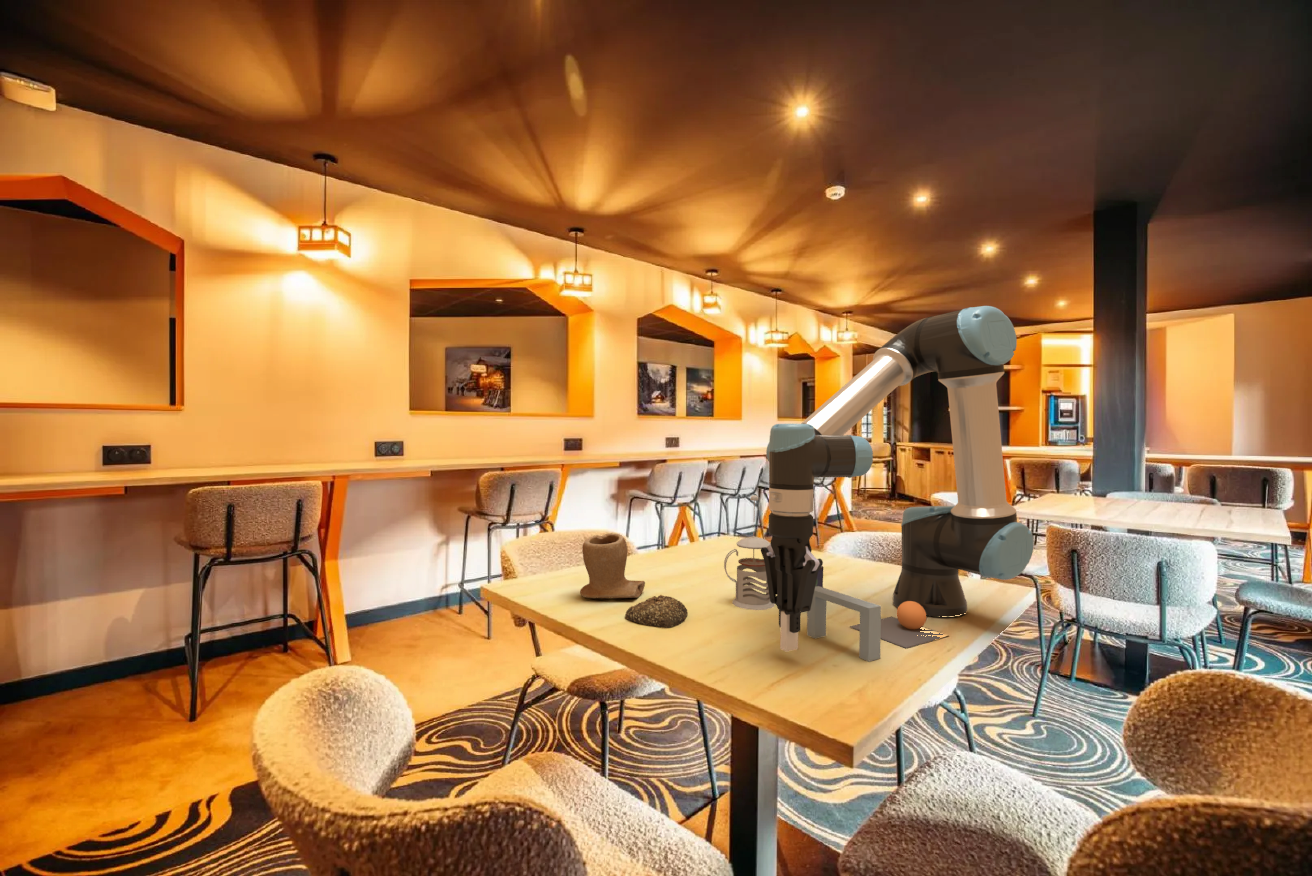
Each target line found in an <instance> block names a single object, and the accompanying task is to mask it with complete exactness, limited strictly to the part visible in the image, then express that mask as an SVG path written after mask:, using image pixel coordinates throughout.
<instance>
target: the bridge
mask: <svg viewBox="0 0 1312 876" xmlns="http://www.w3.org/2000/svg"><path fill="white" fill-rule="evenodd" d="M827 602H829V603H832V604H835V605H837V606H840V607H842V608H843V607H844V608H846V609H849V610H853V611H855V612H859V624H860V631H859V650H858V651H859V654H858V655H859V656H858V658H859V659H862V660H864V661H865V662H872V661H876V660H879V659H881V642H882V641H881V640H882V639H881V619H882V611H881V610H882V605H880V604H877V603H873V602H870V601H867V600H863V599H860V598H858V597H857V598H856V597H854V596H851V595H848V594H845V593H842V592H839V591H835V590H832V589H829V588H825V587H824V586H823V587H820V586H817V587H815V590H814V595H813V599H812V604H811V609H810V611H808V612H806V613H807V614H806V615H807V616H806V617H807V618H806V619H807V623H806V624H807V625H806V626H807V627H806V635H807V636H808V637H809V638H812V639H819V638H824V637H827Z"/></svg>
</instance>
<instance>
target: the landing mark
mask: <svg viewBox="0 0 1312 876" xmlns="http://www.w3.org/2000/svg"><path fill="white" fill-rule="evenodd" d="M849 628H851V629H853V630H855V631H859V632H860V623H859V624H853V625H850V626H849ZM920 631H935V630H934V629H931V630H925V629H924V630H922V629H920V628H919V629H914V630H913V629H908V628H905V627H904V626H903V625H901V624H900V622H899V621H898V618H897V617H894V616H888V617H883V618H881V640H883V641H885V642H888V643H890V644H893V645H895V646H899V647H901V648H902V649H906V648H907V649H909V648H913V647H917V646H919V644H921V645H924V644H927V643H930V641H931V642H934V641H933V640H935V639H939V638H940V637H937V636H933V637H932V635H943V634H944V633H943V634H940V633H941V632H940V633H939V634H933V633H931V632H930V633H924V632H920ZM917 635H918V636H917ZM921 635H922V636H921ZM923 635H924V636H923ZM926 635H927V636H926ZM928 635H931V636H928ZM925 636H926V637H925ZM939 640H940V639H939ZM935 641H936V640H935ZM916 645H917V646H916Z"/></svg>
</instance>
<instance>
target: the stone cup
mask: <svg viewBox="0 0 1312 876" xmlns="http://www.w3.org/2000/svg"><path fill="white" fill-rule="evenodd" d="M581 548H582V558H583V563H584V566H585V569H586V572H587V574H588V575H587V576H588V580H589V581H588V583H587V584H585V585H583V586H582V587H581V588H580V591H579V592H580V593H579V594H580V595H581V596H582V597H583V598H586V599H630V598H631V599H632V598H633V599H634V598H636V599H637V598H639V597H640V596H641V595H642V593H643V591H644V589H645V585H646V582H645V580H629V579H627V578H626V577H625V575H626V574H625V572H626V567H627V560H628V545H627V541H626V538H625V537H624V536H623V535H622V534H620V533H613V532H610V533H606V534H603V535H599V534H597V535H596V534H595V535H593V536H590V537H588V538H586V539H585V540H584V541H583V543H582V547H581Z"/></svg>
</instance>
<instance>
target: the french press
mask: <svg viewBox="0 0 1312 876" xmlns="http://www.w3.org/2000/svg"><path fill="white" fill-rule="evenodd" d="M749 499H750V501H753V521H755V517H756V516H755V509H756V508H755V507H756V506H755V501H759V497H758V495H756V494H755V495H753V494H752V495H751V496H750V498H749ZM770 544H771V542H769V541H768V540H767V539H765V538H762V537H758V536H755V533H753V535H752V536H750V537H744V538H741V539H740V540H738V541H737V542H736V544H735V545H736V546H737V547H739V548H742V549H747V550H748V549H749V550H750V549H751V550H752V552H753V556H752V557H745V558H744V557H743V558H739V559H738V560H737V561H738V564H739V565H737V566H736V579H734V578H733V577H731V576H730V575H729V574H728V571H727V563H728V559H729V557H730V556H731V555H732V554H733V553H735V555H736V557H739V550H738V549H736V548H734V549H732V550H730V551H729V552H727V554H726V556H725V558H724V562H723V563H724V564H723V565H724V566H723V567H724V568H723V569H724V571H725V574H726V577H727V578H729V580H730V581H732V582H733V583H735V598H733V599H732V601H731V604H732V605H733V606H734V607H737V608H740V609H746V610H753V611H763V610H769V609H772V608H775V606H776V604H775V603H774V604H772V603H771V602H770V596H769V589H768V582H767V575H766V568H765V561H764V558H759V557H758V558H756V557H755V550H761V548H763V547H768V546H769V545H770ZM747 569H748V570H752V571H747ZM755 578H757V579H758V580H761V581H758V580H757V579H755ZM762 581H763V582H762ZM756 584H757V585H756ZM763 587H764V588H763Z"/></svg>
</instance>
